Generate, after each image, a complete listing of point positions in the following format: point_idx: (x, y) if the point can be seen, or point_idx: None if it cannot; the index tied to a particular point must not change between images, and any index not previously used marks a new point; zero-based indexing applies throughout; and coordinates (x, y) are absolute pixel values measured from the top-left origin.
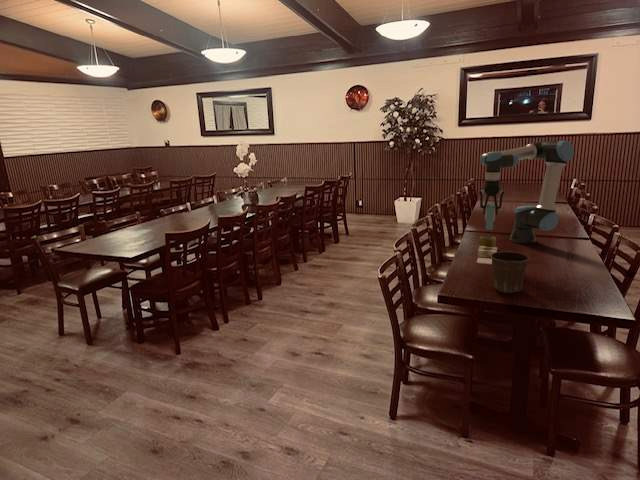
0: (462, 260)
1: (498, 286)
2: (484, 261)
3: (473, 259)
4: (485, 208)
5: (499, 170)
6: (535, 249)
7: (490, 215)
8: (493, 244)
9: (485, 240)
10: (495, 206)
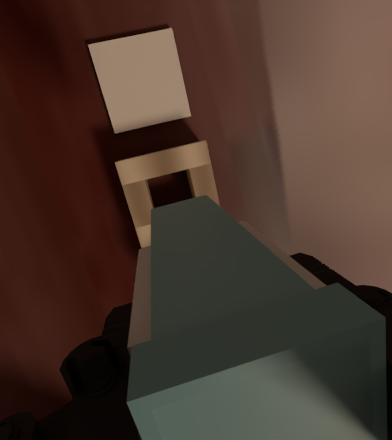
0: (243, 44)
1: None
2: (142, 61)
3: (204, 90)
4: None
5: None
6: (28, 381)
7: (194, 249)
8: None
9: None
10: (124, 426)
